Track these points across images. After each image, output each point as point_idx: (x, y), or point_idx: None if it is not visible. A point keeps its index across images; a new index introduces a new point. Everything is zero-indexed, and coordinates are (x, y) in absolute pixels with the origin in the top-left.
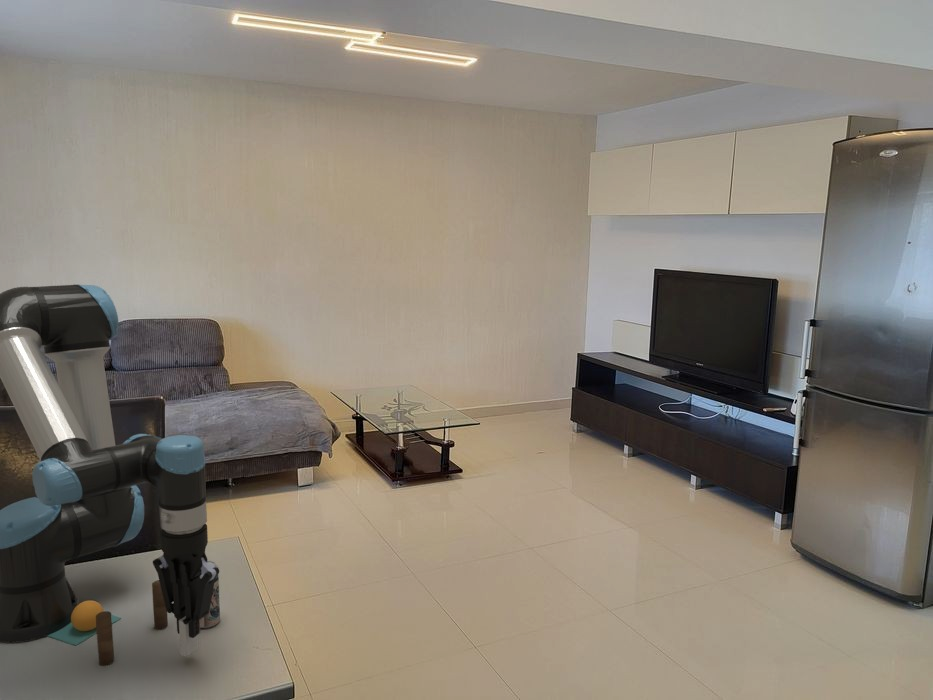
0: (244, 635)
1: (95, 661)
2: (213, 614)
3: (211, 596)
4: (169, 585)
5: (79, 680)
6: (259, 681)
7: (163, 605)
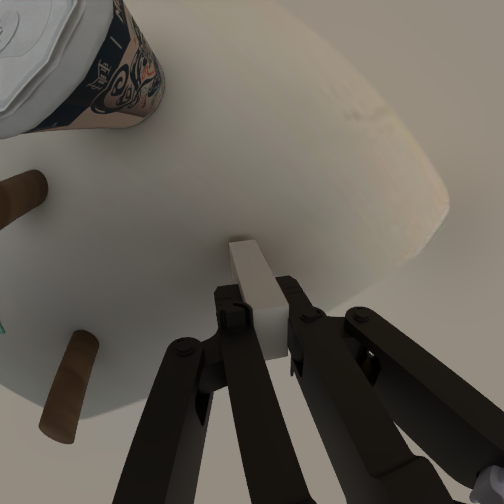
0: (285, 80)
1: None
2: (156, 85)
3: (439, 364)
4: (187, 485)
5: (111, 385)
6: (420, 221)
7: (7, 209)
